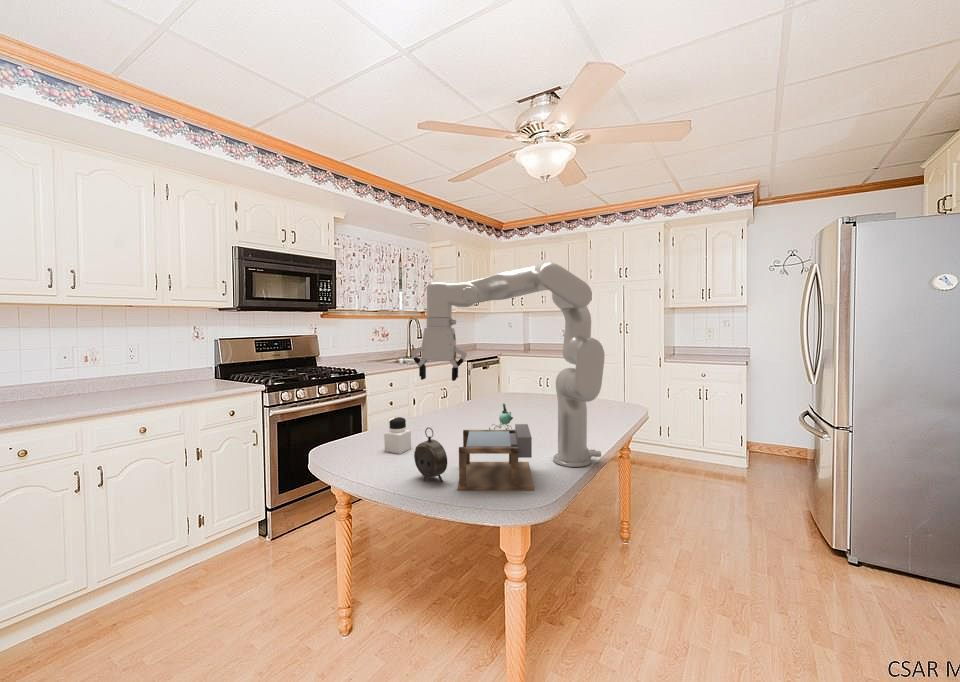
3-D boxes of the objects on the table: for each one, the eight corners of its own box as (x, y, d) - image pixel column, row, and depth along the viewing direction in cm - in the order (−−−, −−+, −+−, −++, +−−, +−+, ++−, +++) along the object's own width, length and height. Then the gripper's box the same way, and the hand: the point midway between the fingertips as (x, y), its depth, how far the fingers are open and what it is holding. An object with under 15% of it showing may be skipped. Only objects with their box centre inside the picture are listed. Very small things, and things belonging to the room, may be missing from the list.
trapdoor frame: (528, 464, 148) (528, 429, 147) (534, 490, 127) (534, 449, 126) (462, 464, 149) (462, 429, 148) (457, 490, 128) (456, 449, 127)
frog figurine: (478, 435, 184) (482, 399, 183) (520, 437, 187) (523, 402, 187) (483, 441, 174) (486, 404, 174) (527, 443, 178) (530, 407, 177)
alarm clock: (448, 481, 134) (447, 428, 133) (435, 487, 130) (434, 432, 129) (424, 473, 142) (423, 422, 140) (411, 477, 138) (410, 426, 136)
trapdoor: (527, 441, 145) (527, 423, 145) (531, 458, 129) (531, 437, 129) (469, 441, 146) (469, 423, 145) (466, 458, 130) (466, 437, 129)
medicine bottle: (411, 448, 167) (410, 417, 166) (400, 454, 160) (399, 421, 159) (395, 446, 170) (394, 415, 169) (384, 451, 163) (383, 419, 162)
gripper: (469, 323, 137) (468, 379, 138) (415, 322, 140) (414, 377, 141) (464, 324, 130) (464, 382, 131) (407, 323, 132) (407, 380, 133)
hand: (438, 379), depth 136 cm, fingers open, 9 cm apart
